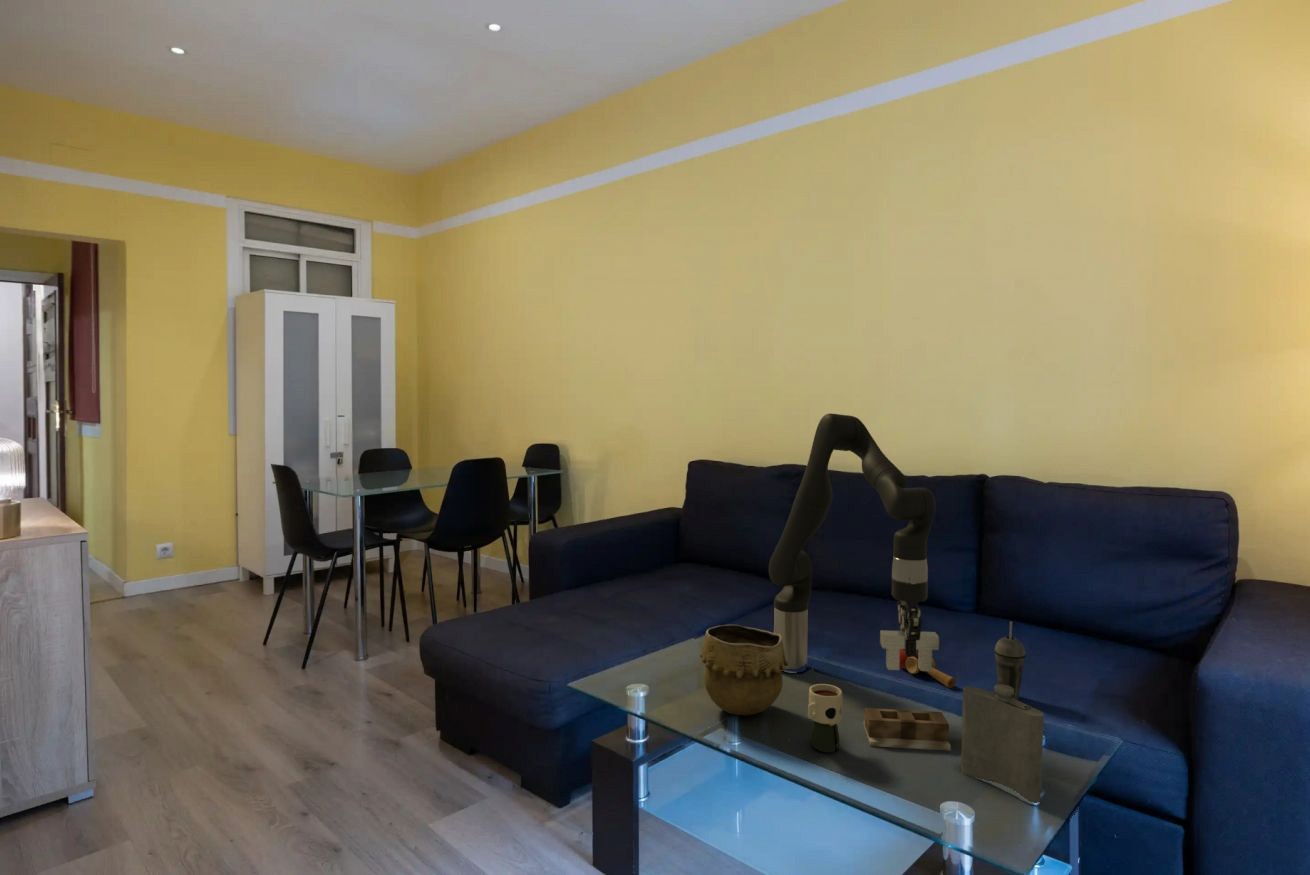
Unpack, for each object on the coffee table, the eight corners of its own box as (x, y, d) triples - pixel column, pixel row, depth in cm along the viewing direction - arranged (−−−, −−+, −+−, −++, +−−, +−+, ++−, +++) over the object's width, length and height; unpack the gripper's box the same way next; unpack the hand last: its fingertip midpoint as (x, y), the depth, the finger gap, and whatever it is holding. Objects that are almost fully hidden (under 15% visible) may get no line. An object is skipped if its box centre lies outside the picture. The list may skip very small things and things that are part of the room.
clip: (882, 670, 162) (882, 635, 161) (879, 664, 165) (880, 630, 164) (938, 672, 160) (938, 636, 160) (934, 666, 163) (935, 632, 163)
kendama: (962, 689, 193) (910, 658, 208) (963, 668, 191) (910, 638, 206) (942, 700, 189) (890, 667, 205) (942, 679, 188) (890, 648, 203)
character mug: (821, 762, 153) (822, 702, 152) (795, 748, 159) (796, 691, 158) (853, 746, 159) (854, 689, 159) (828, 734, 165) (829, 678, 164)
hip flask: (957, 771, 149) (960, 676, 148) (968, 765, 152) (971, 672, 150) (1035, 807, 136) (1038, 704, 135) (1046, 800, 139) (1049, 699, 137)
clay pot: (736, 685, 192) (736, 612, 191) (804, 711, 177) (804, 631, 176) (682, 710, 177) (682, 631, 176) (751, 740, 162) (751, 653, 161)
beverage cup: (1024, 694, 186) (1026, 617, 185) (1025, 705, 180) (1027, 626, 178) (992, 689, 189) (995, 614, 188) (992, 700, 183) (995, 622, 181)
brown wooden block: (870, 745, 160) (870, 723, 159) (863, 724, 170) (863, 704, 169) (950, 750, 158) (951, 728, 157) (938, 729, 167) (939, 708, 167)
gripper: (886, 569, 169) (885, 641, 170) (899, 585, 155) (898, 664, 156) (919, 569, 168) (918, 642, 169) (935, 586, 154) (934, 665, 155)
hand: (908, 652), depth 162 cm, fingers closed on clip, 3 cm apart
